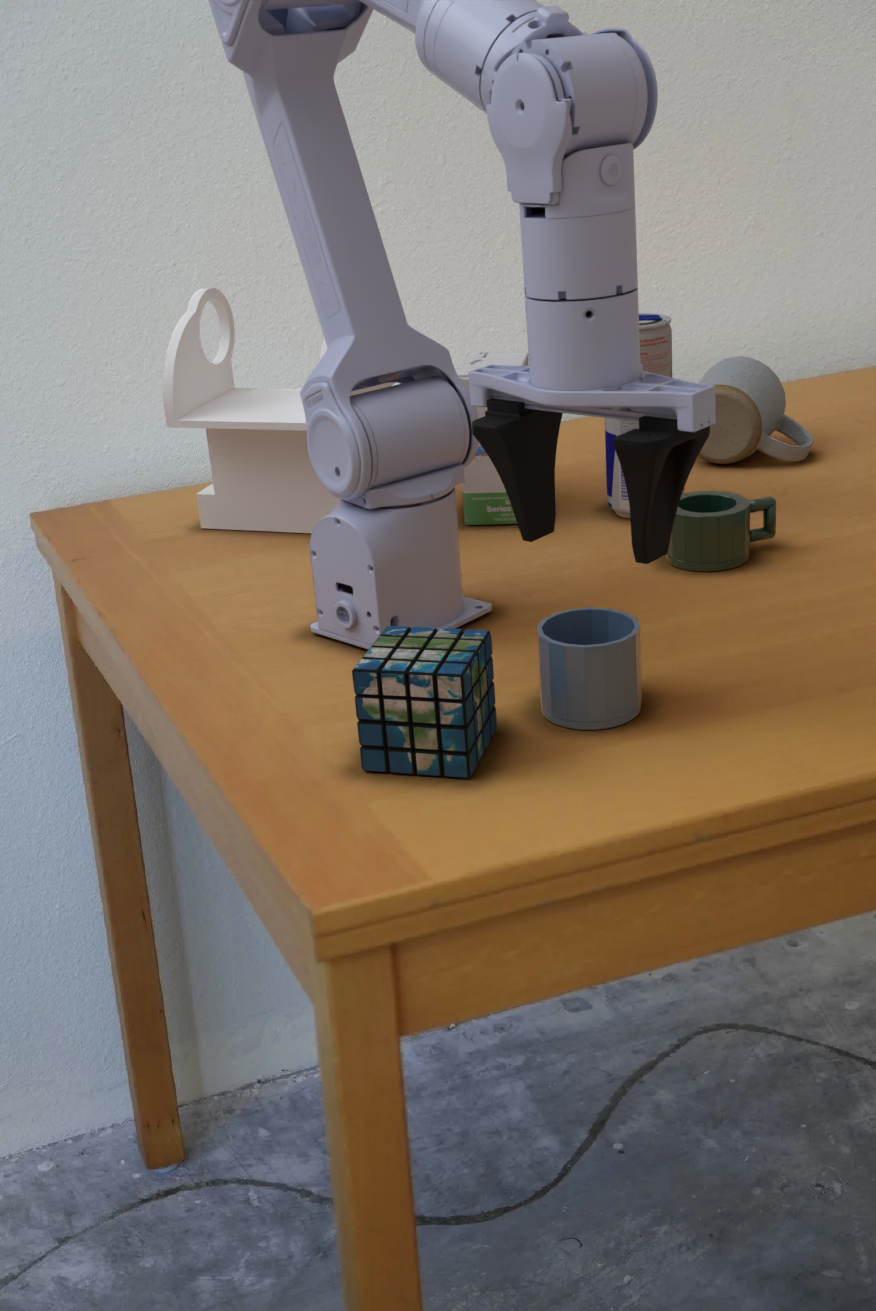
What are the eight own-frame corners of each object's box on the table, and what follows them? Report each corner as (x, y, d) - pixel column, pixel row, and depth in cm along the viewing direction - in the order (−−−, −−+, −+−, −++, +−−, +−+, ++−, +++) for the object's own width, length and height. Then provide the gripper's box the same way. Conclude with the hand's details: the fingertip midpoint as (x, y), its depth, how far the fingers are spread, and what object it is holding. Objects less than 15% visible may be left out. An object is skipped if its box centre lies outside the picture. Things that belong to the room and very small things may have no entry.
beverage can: (672, 499, 117) (670, 308, 111) (675, 520, 112) (673, 321, 106) (607, 502, 117) (601, 312, 111) (607, 522, 113) (601, 325, 107)
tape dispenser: (183, 539, 116) (149, 309, 109) (254, 489, 127) (227, 277, 120) (349, 547, 112) (324, 307, 105) (407, 495, 123) (389, 275, 116)
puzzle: (470, 780, 77) (463, 674, 74) (361, 772, 78) (350, 669, 76) (497, 728, 82) (491, 628, 80) (395, 722, 84) (385, 624, 81)
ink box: (526, 525, 114) (518, 373, 109) (462, 526, 114) (452, 375, 110) (536, 491, 121) (530, 348, 116) (476, 492, 122) (467, 350, 117)
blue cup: (600, 739, 80) (598, 654, 78) (521, 713, 83) (516, 632, 81) (660, 702, 83) (659, 620, 81) (581, 679, 87) (578, 600, 85)
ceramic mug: (675, 466, 125) (676, 375, 122) (698, 439, 131) (700, 353, 128) (802, 474, 121) (806, 381, 118) (819, 446, 127) (824, 358, 124)
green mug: (687, 577, 101) (687, 521, 99) (651, 551, 106) (650, 498, 105) (795, 557, 103) (796, 502, 101) (755, 533, 108) (755, 480, 107)
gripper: (748, 283, 73) (749, 545, 78) (520, 273, 82) (535, 508, 87) (666, 309, 68) (673, 586, 73) (435, 296, 77) (456, 542, 83)
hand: (593, 546), depth 80 cm, fingers open, 7 cm apart
